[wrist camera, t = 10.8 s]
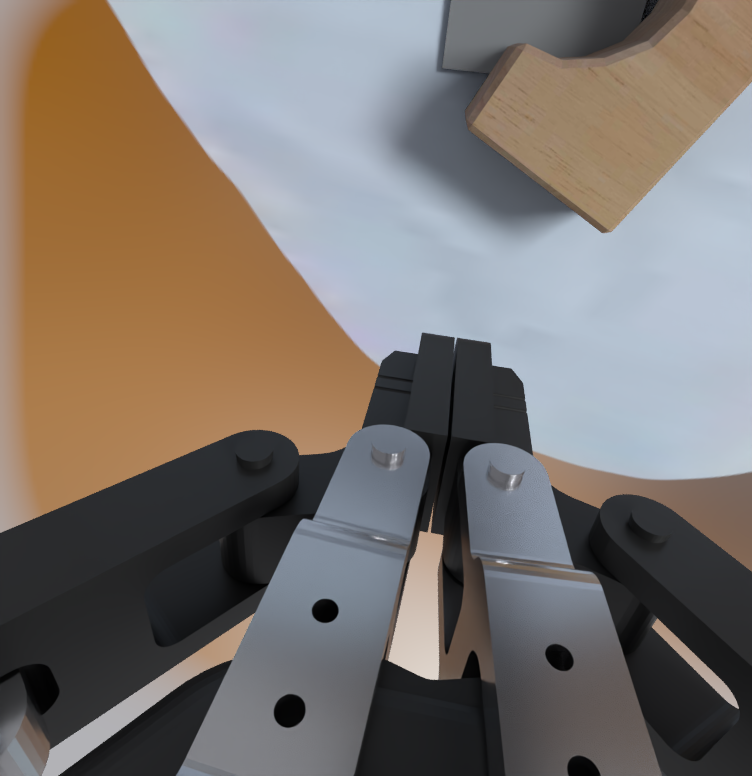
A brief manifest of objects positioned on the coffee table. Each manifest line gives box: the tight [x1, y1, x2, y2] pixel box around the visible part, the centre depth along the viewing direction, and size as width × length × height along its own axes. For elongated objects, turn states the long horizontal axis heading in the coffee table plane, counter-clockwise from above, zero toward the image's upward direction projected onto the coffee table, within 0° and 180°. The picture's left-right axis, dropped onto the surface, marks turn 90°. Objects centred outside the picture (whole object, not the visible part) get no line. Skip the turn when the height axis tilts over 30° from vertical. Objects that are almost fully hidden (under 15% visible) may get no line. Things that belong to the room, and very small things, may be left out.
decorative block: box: [465, 0, 752, 233], centre depth 28 cm, size 11×6×20 cm
